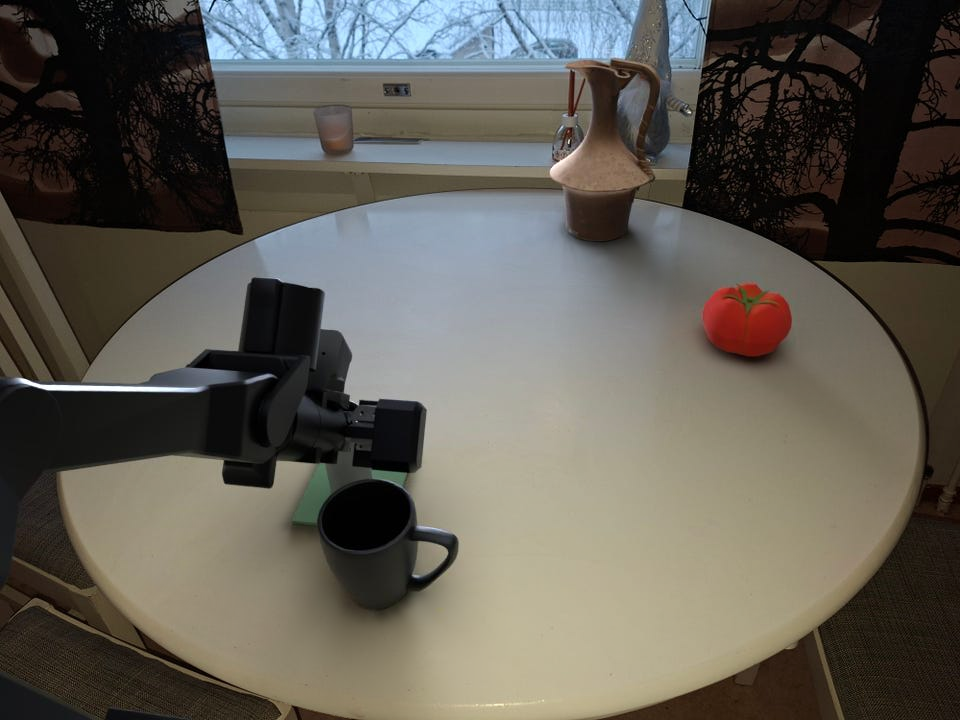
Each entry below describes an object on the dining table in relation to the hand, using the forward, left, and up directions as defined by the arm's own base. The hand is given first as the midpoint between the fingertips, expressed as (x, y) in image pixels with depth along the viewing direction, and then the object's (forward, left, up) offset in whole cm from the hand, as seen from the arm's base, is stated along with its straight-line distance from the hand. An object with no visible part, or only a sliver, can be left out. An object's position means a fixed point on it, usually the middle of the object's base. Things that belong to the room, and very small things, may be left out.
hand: (348, 433), depth 68 cm
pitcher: (+68, -7, -7) cm, 69 cm away
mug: (-10, -10, -7) cm, 16 cm away
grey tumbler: (-1, 0, -7) cm, 7 cm away
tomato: (+41, -34, -7) cm, 54 cm away
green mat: (-1, 0, -7) cm, 7 cm away
